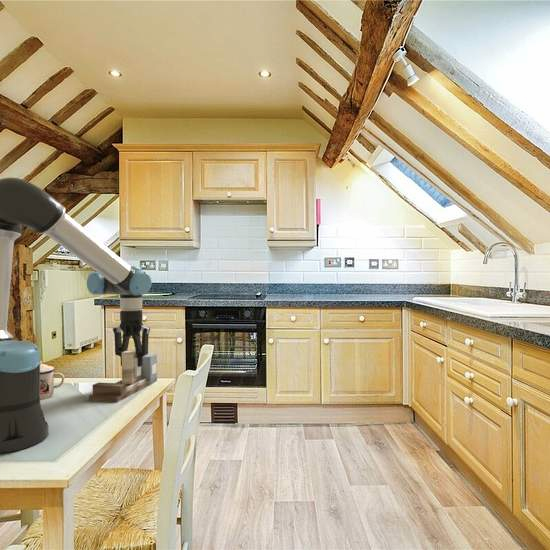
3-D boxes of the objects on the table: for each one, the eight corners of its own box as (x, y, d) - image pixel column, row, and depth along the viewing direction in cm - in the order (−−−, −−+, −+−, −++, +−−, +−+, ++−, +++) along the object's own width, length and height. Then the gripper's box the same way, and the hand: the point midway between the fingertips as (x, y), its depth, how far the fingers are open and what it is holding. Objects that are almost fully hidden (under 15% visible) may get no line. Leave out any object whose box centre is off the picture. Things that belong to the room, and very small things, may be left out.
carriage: (132, 384, 140) (132, 352, 140) (122, 383, 141) (121, 352, 141) (141, 379, 146) (141, 349, 146) (131, 379, 146) (131, 349, 146)
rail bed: (117, 402, 126) (117, 387, 126) (88, 400, 127) (88, 386, 127) (157, 380, 151) (157, 368, 151) (132, 379, 153) (132, 367, 153)
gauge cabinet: (151, 384, 146) (150, 356, 146) (125, 383, 148) (125, 356, 148) (157, 380, 151) (157, 354, 151) (132, 379, 153) (132, 353, 153)
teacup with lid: (20, 402, 126) (19, 365, 126) (25, 394, 135) (24, 360, 135) (63, 397, 131) (62, 361, 131) (65, 390, 139) (65, 356, 139)
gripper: (158, 309, 145) (159, 373, 145) (115, 308, 149) (116, 372, 148) (148, 310, 138) (148, 379, 138) (103, 310, 141) (103, 377, 141)
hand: (131, 375), depth 143 cm, fingers closed on carriage, 4 cm apart
